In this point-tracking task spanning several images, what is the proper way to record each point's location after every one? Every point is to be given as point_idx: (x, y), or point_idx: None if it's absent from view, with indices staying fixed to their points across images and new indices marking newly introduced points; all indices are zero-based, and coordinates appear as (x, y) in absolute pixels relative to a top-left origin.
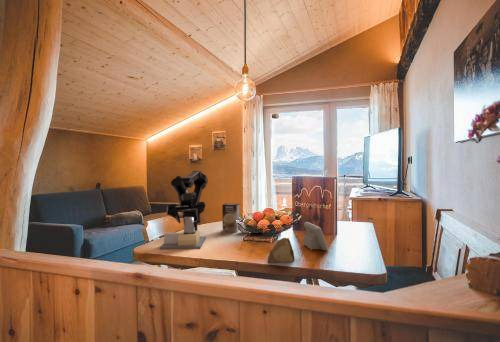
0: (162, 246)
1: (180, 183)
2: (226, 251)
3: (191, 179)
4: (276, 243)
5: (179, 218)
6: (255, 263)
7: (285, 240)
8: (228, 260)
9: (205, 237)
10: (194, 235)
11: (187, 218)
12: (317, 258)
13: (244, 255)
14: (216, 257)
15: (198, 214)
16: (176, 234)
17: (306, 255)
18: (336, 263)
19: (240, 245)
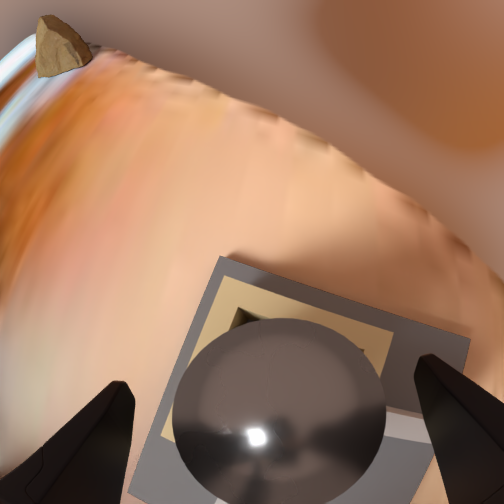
0: (457, 350)
1: None
2: (120, 162)
3: None
4: (55, 30)
5: (453, 391)
6: (120, 53)
7: (48, 16)
8: (169, 74)
9: (135, 471)
10: (242, 283)
11: (318, 334)
12: (13, 81)
13: (98, 107)
14: (193, 103)
15: (64, 445)
16: (393, 412)
17: (7, 97)
18: (21, 60)
19: (34, 232)
